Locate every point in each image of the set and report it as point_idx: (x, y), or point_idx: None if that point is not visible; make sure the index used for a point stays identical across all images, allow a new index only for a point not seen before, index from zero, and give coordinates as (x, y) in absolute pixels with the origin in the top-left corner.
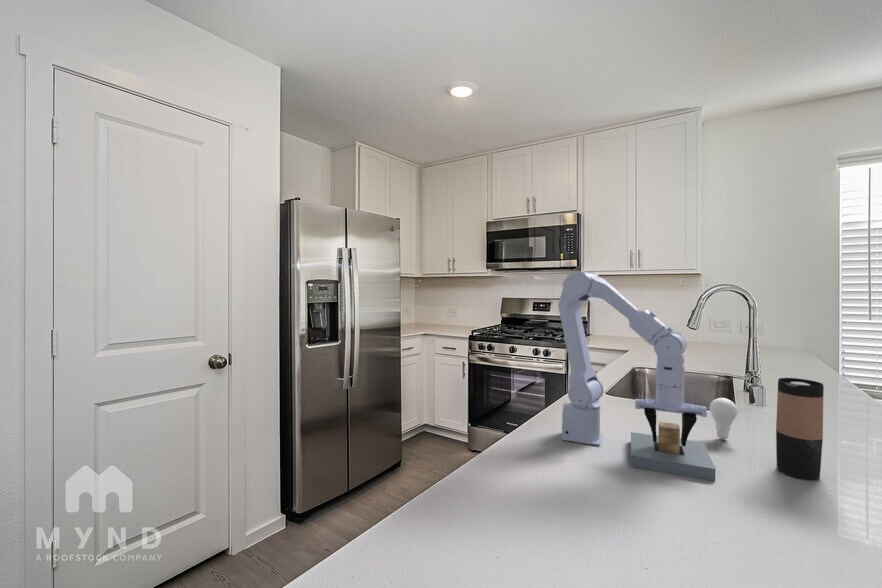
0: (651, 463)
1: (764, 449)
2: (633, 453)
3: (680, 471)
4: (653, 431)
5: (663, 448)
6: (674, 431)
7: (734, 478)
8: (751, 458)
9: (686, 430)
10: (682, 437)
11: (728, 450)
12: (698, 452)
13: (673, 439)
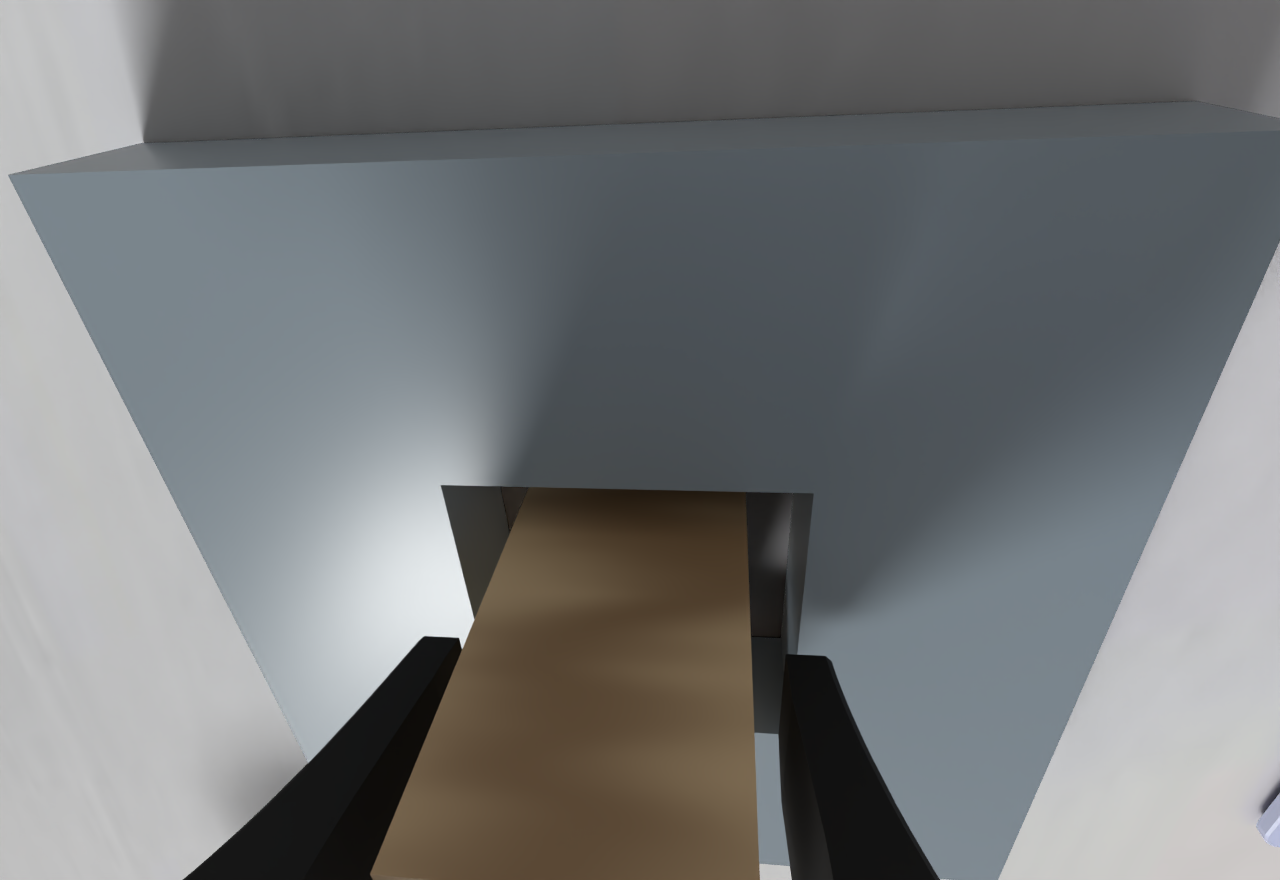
0: (908, 128)
1: (86, 858)
2: (1226, 253)
3: (499, 136)
4: (865, 802)
5: (696, 562)
6: (486, 821)
7: (30, 320)
8: (91, 737)
9: (264, 863)
10: (413, 751)
11: (245, 806)
12: (327, 620)
13: (539, 681)
